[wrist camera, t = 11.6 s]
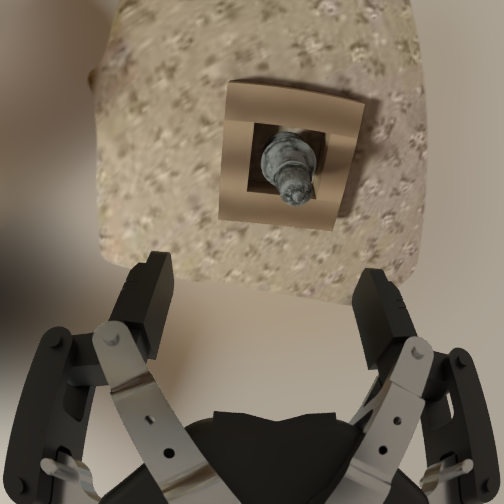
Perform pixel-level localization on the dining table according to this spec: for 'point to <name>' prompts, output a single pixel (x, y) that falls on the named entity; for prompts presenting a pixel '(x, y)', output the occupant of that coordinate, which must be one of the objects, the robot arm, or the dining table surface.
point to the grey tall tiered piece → (289, 167)
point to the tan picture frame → (292, 115)
